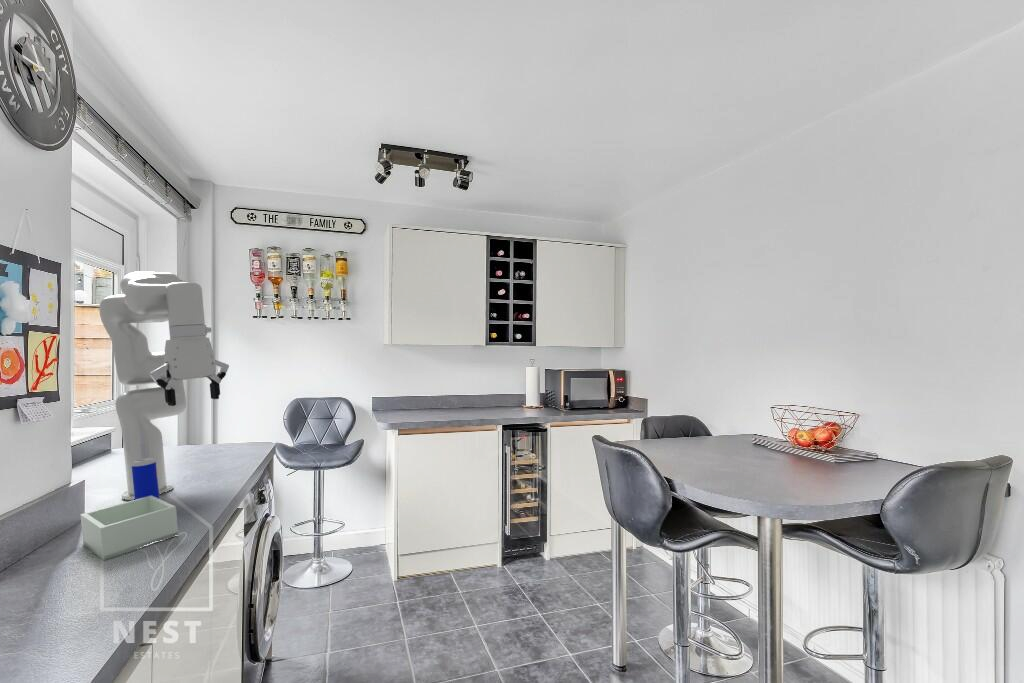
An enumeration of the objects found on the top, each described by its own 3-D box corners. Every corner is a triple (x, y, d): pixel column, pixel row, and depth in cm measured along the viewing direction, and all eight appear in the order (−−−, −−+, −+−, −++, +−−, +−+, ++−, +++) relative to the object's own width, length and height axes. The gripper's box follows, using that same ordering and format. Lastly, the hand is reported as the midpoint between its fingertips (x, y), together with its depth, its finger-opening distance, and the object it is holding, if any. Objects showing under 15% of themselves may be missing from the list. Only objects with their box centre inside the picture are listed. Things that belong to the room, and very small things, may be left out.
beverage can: (165, 512, 135) (160, 457, 134) (145, 520, 130) (140, 462, 129) (151, 511, 136) (146, 456, 136) (131, 519, 131) (126, 462, 131)
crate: (83, 544, 117) (80, 514, 117) (154, 522, 128) (151, 495, 128) (103, 560, 107) (100, 528, 107) (178, 535, 118) (175, 506, 118)
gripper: (218, 331, 134) (224, 395, 134) (140, 335, 120) (147, 407, 121) (231, 330, 129) (237, 397, 130) (152, 334, 115) (159, 409, 116)
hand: (194, 402), depth 125 cm, fingers open, 9 cm apart
